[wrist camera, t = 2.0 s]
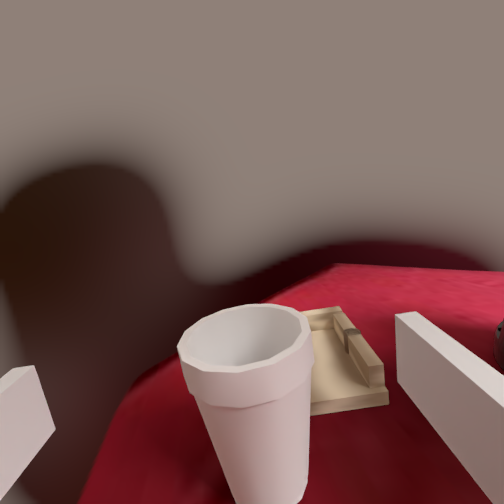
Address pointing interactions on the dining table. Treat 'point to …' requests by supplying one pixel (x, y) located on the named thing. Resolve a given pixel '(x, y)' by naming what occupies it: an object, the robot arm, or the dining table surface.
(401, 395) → the dining table surface
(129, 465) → the dining table surface
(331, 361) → the cradle
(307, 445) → the foam cup
